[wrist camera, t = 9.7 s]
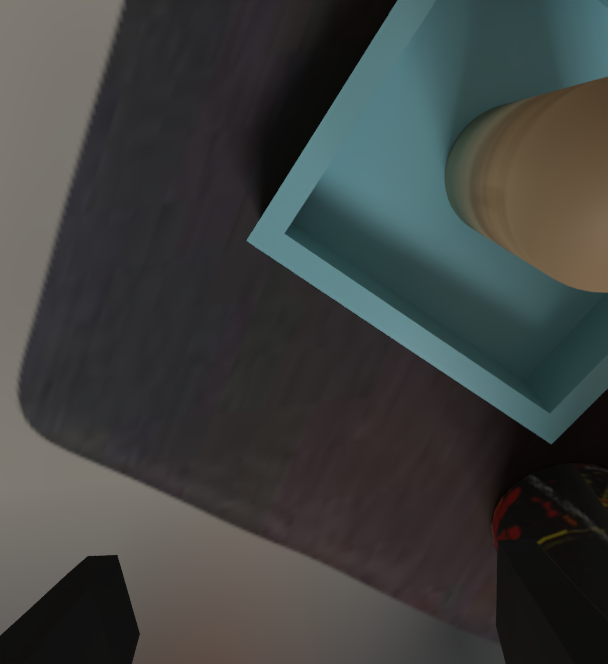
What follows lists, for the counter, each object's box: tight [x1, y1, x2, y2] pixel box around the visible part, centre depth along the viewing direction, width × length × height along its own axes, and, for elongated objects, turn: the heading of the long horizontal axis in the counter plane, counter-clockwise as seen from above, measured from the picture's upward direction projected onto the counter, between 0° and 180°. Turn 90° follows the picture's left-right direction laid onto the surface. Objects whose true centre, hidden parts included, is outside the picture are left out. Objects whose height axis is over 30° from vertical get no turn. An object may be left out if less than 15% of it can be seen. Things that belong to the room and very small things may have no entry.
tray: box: [247, 0, 608, 444], centre depth 16 cm, size 12×12×3 cm
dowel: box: [445, 77, 608, 293], centre depth 13 cm, size 4×4×7 cm
